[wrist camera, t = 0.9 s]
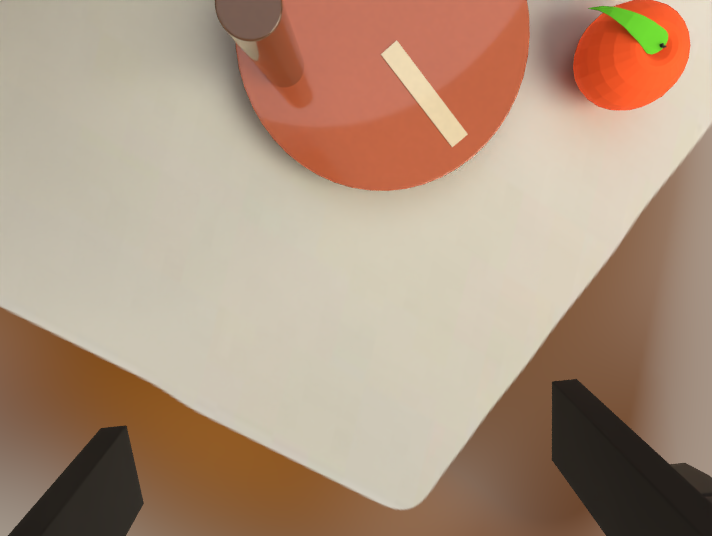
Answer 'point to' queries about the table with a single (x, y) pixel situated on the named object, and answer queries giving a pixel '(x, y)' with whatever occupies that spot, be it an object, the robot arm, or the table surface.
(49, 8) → the table surface
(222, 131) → the table surface
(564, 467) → the robot arm
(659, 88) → the clementine
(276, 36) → the orange disc
